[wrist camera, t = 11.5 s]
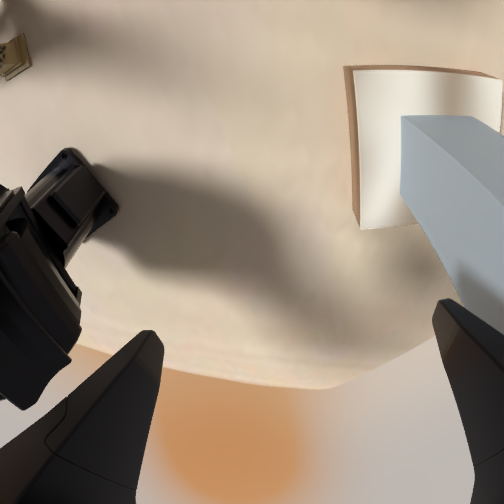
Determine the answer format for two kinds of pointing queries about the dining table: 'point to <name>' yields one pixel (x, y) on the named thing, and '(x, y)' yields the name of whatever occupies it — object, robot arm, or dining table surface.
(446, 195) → the slate block
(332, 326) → the dining table surface
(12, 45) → the eiffel tower
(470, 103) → the plinth
